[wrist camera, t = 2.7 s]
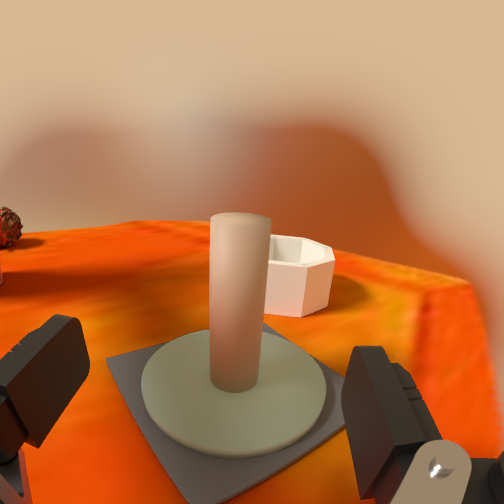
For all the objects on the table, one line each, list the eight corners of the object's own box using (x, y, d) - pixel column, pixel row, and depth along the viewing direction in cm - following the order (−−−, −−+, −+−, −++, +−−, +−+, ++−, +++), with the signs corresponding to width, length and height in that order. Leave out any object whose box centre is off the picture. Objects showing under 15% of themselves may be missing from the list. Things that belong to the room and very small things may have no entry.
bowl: (222, 286, 41) (223, 242, 39) (285, 271, 48) (289, 232, 46) (278, 326, 33) (284, 273, 31) (343, 299, 39) (351, 255, 37)
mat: (106, 362, 25) (105, 358, 24) (253, 319, 34) (253, 315, 34) (196, 514, 13) (196, 511, 13) (374, 402, 22) (376, 397, 22)
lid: (119, 362, 24) (99, 208, 20) (251, 322, 32) (260, 194, 28) (202, 492, 14) (186, 290, 10) (359, 397, 22) (403, 236, 18)
